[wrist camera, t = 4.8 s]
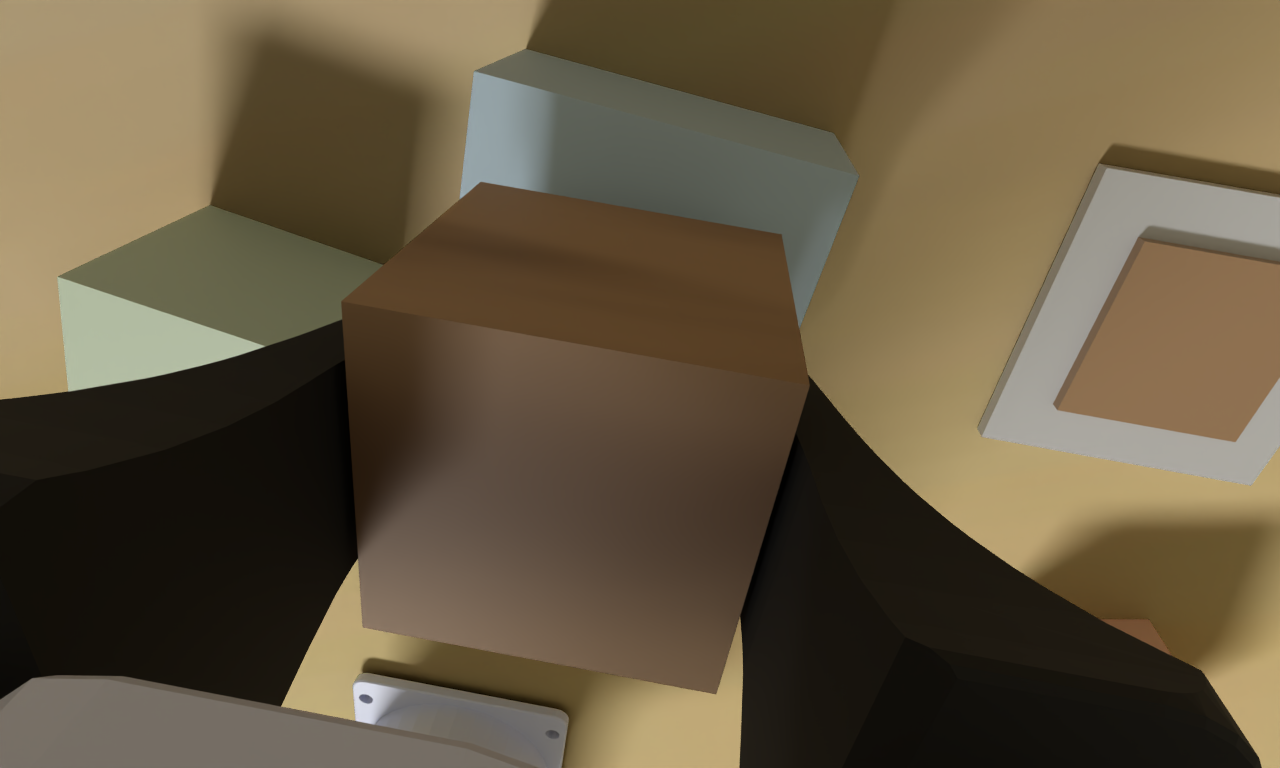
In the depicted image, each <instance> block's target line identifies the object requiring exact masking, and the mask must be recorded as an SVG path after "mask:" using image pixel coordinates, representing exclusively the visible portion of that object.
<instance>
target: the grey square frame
mask: <svg viewBox="0 0 1280 768" xmlns="http://www.w3.org/2000/svg"><path fill="white" fill-rule="evenodd" d="M977 429H978V431H979V433H980V435H981V437H985V438H991V439H996V440H1002V441H1007V442H1013V443H1018V444H1024V445H1029V446H1035V447H1040V448H1046V449H1051V450H1057V451H1062V452H1068V453H1074V454H1079V455H1085V456H1090V457H1096V458H1101V459H1107V460H1112V461H1118V462H1123V463H1129V464H1134V465H1140V466H1145V467H1151V468H1156V469H1162V470H1167V471H1173V472H1178V473H1184V474H1189V475H1195V476H1201V477H1206V478H1212V479H1217V480H1223V481H1228V482H1234V483H1239V484H1245V485H1250V486H1251V485H1252V484H1253V482H1254V481H1255V480H1256V478H1257V477H1258V475H1259V474H1260V473H1261V471H1262V470H1263V468H1264V467H1265V466H1266V464H1267V463H1268V462H1269V460H1270V459H1271V457H1272V456H1273V455H1274V453H1275V452H1276V451H1277V449H1278V448H1279V446H1280V195H1279V194H1273V193H1267V192H1261V191H1256V190H1250V189H1244V188H1238V187H1233V186H1227V185H1221V184H1215V183H1209V182H1204V181H1198V180H1192V179H1186V178H1181V177H1175V176H1169V175H1163V174H1158V173H1152V172H1146V171H1140V170H1134V169H1129V168H1123V167H1117V166H1111V165H1106V164H1100V163H1099V164H1098V166H1097V168H1096V171H1095V173H1094V175H1093V177H1092V179H1091V181H1090V184H1089V186H1088V188H1087V190H1086V192H1085V195H1084V197H1083V199H1082V201H1081V203H1080V205H1079V208H1078V210H1077V212H1076V214H1075V216H1074V219H1073V221H1072V223H1071V225H1070V227H1069V229H1068V232H1067V234H1066V236H1065V238H1064V240H1063V243H1062V245H1061V247H1060V249H1059V251H1058V253H1057V256H1056V258H1055V260H1054V262H1053V264H1052V266H1051V269H1050V271H1049V273H1048V275H1047V277H1046V280H1045V282H1044V284H1043V286H1042V288H1041V290H1040V293H1039V295H1038V297H1037V299H1036V301H1035V304H1034V306H1033V308H1032V310H1031V312H1030V314H1029V317H1028V319H1027V321H1026V323H1025V325H1024V328H1023V330H1022V332H1021V334H1020V336H1019V338H1018V341H1017V343H1016V345H1015V347H1014V349H1013V351H1012V354H1011V356H1010V358H1009V360H1008V362H1007V365H1006V367H1005V369H1004V371H1003V373H1002V375H1001V378H1000V380H999V382H998V384H997V386H996V389H995V391H994V393H993V395H992V397H991V399H990V402H989V404H988V406H987V408H986V410H985V413H984V415H983V417H982V419H981V421H980V423H979V426H978V428H977Z"/></svg>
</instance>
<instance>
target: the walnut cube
mask: <svg viewBox="0 0 1280 768" xmlns="http://www.w3.org/2000/svg"><path fill="white" fill-rule="evenodd" d="M341 308H342V323H343V338H344V353H345V368H346V383H347V398H348V413H349V428H350V443H351V458H352V473H353V488H354V503H355V518H356V533H357V548H358V563H359V578H360V593H361V608H362V623H363V628H369V629H374V630H379V631H385V632H390V633H395V634H400V635H406V636H411V637H416V638H422V639H427V640H432V641H437V642H443V643H448V644H453V645H459V646H464V647H469V648H474V649H480V650H485V651H490V652H496V653H501V654H506V655H511V656H517V657H522V658H527V659H533V660H538V661H543V662H548V663H554V664H559V665H564V666H570V667H575V668H580V669H585V670H591V671H596V672H601V673H607V674H612V675H617V676H622V677H628V678H633V679H638V680H644V681H649V682H654V683H659V684H665V685H670V686H675V687H681V688H686V689H691V690H696V691H702V692H707V693H712V694H716V693H717V690H718V687H719V683H720V680H721V677H722V674H723V670H724V667H725V664H726V660H727V657H728V654H729V650H730V647H731V644H732V641H733V637H734V634H735V631H736V627H737V624H738V621H739V617H740V614H741V611H742V608H743V604H744V601H745V598H746V594H747V591H748V588H749V584H750V581H751V578H752V575H753V571H754V568H755V565H756V561H757V558H758V555H759V551H760V548H761V545H762V542H763V538H764V535H765V532H766V528H767V525H768V522H769V518H770V515H771V512H772V509H773V505H774V502H775V499H776V495H777V492H778V489H779V485H780V482H781V479H782V476H783V472H784V469H785V466H786V462H787V459H788V456H789V452H790V449H791V446H792V443H793V439H794V436H795V433H796V429H797V426H798V423H799V419H800V416H801V413H802V410H803V406H804V403H805V400H806V396H807V393H808V390H809V386H810V384H809V378H808V373H807V368H806V362H805V357H804V352H803V346H802V341H801V336H800V330H799V325H798V320H797V314H796V309H795V303H794V298H793V293H792V287H791V282H790V277H789V271H788V266H787V261H786V255H785V250H784V245H783V239H782V234H777V233H771V232H765V231H760V230H754V229H748V228H743V227H737V226H731V225H725V224H720V223H714V222H708V221H703V220H697V219H691V218H685V217H680V216H674V215H668V214H663V213H657V212H651V211H646V210H640V209H634V208H628V207H623V206H617V205H611V204H606V203H600V202H594V201H588V200H583V199H577V198H571V197H566V196H560V195H554V194H548V193H543V192H537V191H531V190H526V189H520V188H514V187H508V186H503V185H497V184H491V183H486V182H480V183H479V184H477V185H476V186H475V187H474V188H473V189H472V190H470V191H469V192H468V193H467V194H466V195H465V196H463V197H462V198H461V199H460V200H459V201H458V202H456V203H455V204H454V205H453V206H452V207H451V208H449V209H448V210H447V211H446V212H445V213H444V214H442V215H441V216H440V217H439V218H438V219H437V220H435V221H434V222H433V223H432V224H431V225H430V226H428V227H427V228H426V229H425V230H424V231H423V232H421V233H420V234H419V235H418V236H417V237H416V238H414V239H413V240H412V241H411V242H410V243H409V244H407V245H406V246H405V247H404V248H403V249H402V250H400V251H399V252H398V253H397V254H396V255H395V256H393V257H392V258H391V259H390V260H389V261H388V262H386V263H385V264H384V265H383V266H382V267H381V268H379V269H378V270H377V271H376V272H375V273H374V274H372V275H371V276H370V277H369V278H368V279H367V280H365V281H364V282H363V283H362V284H361V285H360V286H358V287H357V288H356V289H355V290H354V291H353V292H351V293H350V294H349V295H348V296H347V297H346V298H344V299H343V300H342V301H341Z"/></svg>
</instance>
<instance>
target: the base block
mask: <svg viewBox="0 0 1280 768" xmlns="http://www.w3.org/2000/svg"><path fill="white" fill-rule="evenodd" d="M858 178H859V174H858V173H857V171H856V169H855V168H854V166H853V164H852V163H851V161H850V159H849V158H848V156H847V154H846V153H845V151H844V149H843V148H842V146H841V144H840V143H839V141H838V139H837V138H836V136H835V134H834V133H832V132H828V131H825V130H821V129H817V128H814V127H810V126H806V125H803V124H799V123H795V122H792V121H788V120H784V119H781V118H777V117H774V116H770V115H766V114H763V113H759V112H755V111H752V110H748V109H744V108H741V107H737V106H733V105H730V104H726V103H722V102H719V101H715V100H711V99H708V98H704V97H700V96H697V95H693V94H689V93H686V92H682V91H678V90H675V89H671V88H667V87H664V86H660V85H656V84H653V83H649V82H645V81H642V80H638V79H634V78H631V77H627V76H623V75H620V74H616V73H612V72H609V71H605V70H601V69H598V68H594V67H591V66H587V65H583V64H580V63H576V62H572V61H569V60H565V59H561V58H558V57H554V56H550V55H547V54H543V53H539V52H536V51H532V50H528V49H524V50H522V51H520V52H517V53H515V54H513V55H510V56H508V57H506V58H503V59H501V60H499V61H496V62H494V63H492V64H489V65H487V66H485V67H482V68H480V69H478V70H475V71H474V76H473V85H472V93H471V102H470V111H469V120H468V129H467V138H466V147H465V156H464V165H463V174H462V183H461V191H460V199H461V198H462V197H463V196H465V195H466V194H467V193H468V192H469V191H470V190H472V189H473V188H474V187H475V186H476V185H477V184H479V183H480V182H486V183H491V184H497V185H503V186H508V187H514V188H520V189H526V190H531V191H537V192H543V193H548V194H554V195H560V196H566V197H571V198H577V199H583V200H588V201H594V202H600V203H606V204H611V205H617V206H623V207H628V208H634V209H640V210H646V211H651V212H657V213H663V214H668V215H674V216H680V217H685V218H691V219H697V220H703V221H708V222H714V223H720V224H725V225H731V226H737V227H743V228H748V229H754V230H760V231H765V232H771V233H777V234H782V239H783V245H784V250H785V255H786V261H787V266H788V271H789V277H790V282H791V287H792V293H793V298H794V303H795V309H796V314H797V320H798V325H799V329H800V326H801V323H802V321H803V318H804V316H805V313H806V311H807V308H808V306H809V303H810V300H811V298H812V295H813V293H814V290H815V288H816V285H817V283H818V280H819V278H820V275H821V272H822V270H823V267H824V265H825V262H826V260H827V257H828V255H829V252H830V249H831V247H832V244H833V242H834V239H835V237H836V234H837V232H838V229H839V227H840V224H841V221H842V219H843V216H844V214H845V211H846V209H847V206H848V204H849V201H850V198H851V196H852V193H853V191H854V188H855V186H856V183H857V181H858Z"/></svg>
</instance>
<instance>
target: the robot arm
mask: <svg viewBox="0 0 1280 768" xmlns="http://www.w3.org/2000/svg"><path fill="white" fill-rule="evenodd" d="M808 378H809V384H810V386H809V390H808V393H807V396H806V400H805V403H804V406H803V410H802V413H801V416H800V419H799V423H798V426H797V429H796V433H795V436H794V439H793V443H792V446H791V449H790V452H789V456H788V459H787V462H786V466H785V469H784V472H783V476H782V479H781V482H780V485H779V489H778V492H777V495H776V499H775V502H774V505H773V509H772V512H771V515H770V518H769V522H768V525H767V528H766V532H765V535H764V538H763V542H762V545H761V548H760V551H759V555H758V558H757V561H756V565H755V568H754V571H753V575H752V578H751V581H750V584H749V588H748V591H747V594H746V598H745V601H744V604H743V608H742V611H741V614H740V618H741V631H742V647H743V693H742V723H741V747H740V768H1262V767H1261V764H1260V760H1259V757H1258V756H1257V754H1256V753H1255V751H1254V750H1253V748H1252V746H1251V745H1250V743H1249V742H1248V740H1247V739H1246V737H1245V736H1244V734H1243V733H1242V731H1241V730H1240V728H1239V727H1238V725H1237V724H1236V722H1235V721H1234V719H1233V718H1232V716H1231V714H1230V713H1229V711H1228V710H1227V708H1226V707H1225V705H1224V704H1223V702H1222V701H1221V699H1220V698H1219V696H1218V695H1217V693H1216V692H1215V690H1214V689H1213V687H1212V686H1211V684H1210V683H1209V681H1208V679H1207V678H1206V676H1205V675H1204V673H1203V672H1202V671H1201V670H1199V669H1197V668H1195V667H1193V666H1191V665H1189V664H1187V663H1185V662H1183V661H1181V660H1179V659H1177V658H1175V657H1173V656H1171V655H1169V654H1167V653H1165V652H1163V651H1161V650H1159V649H1157V648H1155V647H1153V646H1151V645H1149V644H1147V643H1145V642H1143V641H1141V640H1139V639H1137V638H1135V637H1133V636H1131V635H1129V634H1127V633H1125V632H1123V631H1121V630H1119V629H1117V628H1115V627H1113V626H1111V625H1109V624H1107V623H1105V622H1104V621H1102V620H1100V619H1098V618H1096V617H1095V616H1093V615H1091V614H1089V613H1088V612H1086V611H1084V610H1082V609H1081V608H1079V607H1077V606H1076V605H1074V604H1072V603H1070V602H1069V601H1067V600H1065V599H1064V598H1062V597H1060V596H1058V595H1057V594H1055V593H1053V592H1052V591H1050V590H1048V589H1046V588H1045V587H1043V586H1042V585H1040V584H1038V583H1037V582H1035V581H1034V580H1032V579H1031V578H1029V577H1027V576H1026V575H1024V574H1023V573H1021V572H1019V571H1018V570H1016V569H1015V568H1013V567H1012V566H1010V565H1009V564H1007V563H1006V562H1005V561H1003V560H1002V559H1000V558H999V557H997V556H996V555H995V554H993V553H992V552H990V551H989V550H987V549H986V548H985V547H983V546H982V545H980V544H979V543H977V542H976V541H975V540H973V539H972V538H970V537H969V536H968V535H967V534H965V533H964V532H963V531H961V530H960V529H959V528H957V527H956V526H955V525H953V524H952V523H951V522H950V521H948V520H947V519H946V518H945V517H944V516H942V515H941V514H940V513H939V512H938V511H936V510H935V509H934V508H933V507H932V506H930V505H929V504H928V503H927V502H926V501H924V500H923V499H922V498H921V497H920V496H919V495H917V494H916V493H915V492H914V491H913V490H912V489H911V488H910V487H909V486H908V485H906V484H905V483H904V482H903V481H902V480H901V479H900V478H899V477H898V476H897V475H896V474H895V473H894V472H893V471H892V470H891V469H890V468H889V467H888V466H887V465H886V464H885V463H884V462H883V461H882V460H881V459H880V458H879V457H878V456H877V455H876V454H875V453H874V451H873V450H872V449H871V448H870V447H869V446H868V445H867V444H866V443H865V442H864V441H863V440H862V438H861V437H860V436H859V435H858V434H857V433H856V432H855V430H854V429H853V428H852V427H851V426H850V425H849V424H848V422H847V421H846V420H845V419H844V418H843V416H842V415H841V414H840V413H839V412H838V410H837V409H836V408H835V407H834V406H833V404H832V403H831V402H830V401H829V399H828V398H827V397H826V396H825V395H824V393H823V392H822V391H821V390H820V388H819V387H818V386H817V385H816V383H815V382H814V381H813V380H812V379H811V378H810V376H809V375H808ZM357 559H358V548H357V533H356V518H355V503H354V488H353V473H352V458H351V443H350V428H349V413H348V398H347V383H346V368H345V353H344V338H343V323H342V320H339V321H336V322H334V323H331V324H328V325H326V326H323V327H320V328H318V329H315V330H312V331H310V332H307V333H304V334H301V335H299V336H296V337H293V338H290V339H287V340H283V341H280V342H277V343H274V344H271V345H268V346H265V347H262V348H259V349H256V350H253V351H250V352H247V353H244V354H241V355H238V356H235V357H231V358H228V359H224V360H221V361H217V362H213V363H209V364H206V365H202V366H198V367H194V368H189V369H185V370H181V371H177V372H173V373H168V374H164V375H159V376H155V377H150V378H145V379H139V380H133V381H127V382H121V383H116V384H110V385H104V386H98V387H93V388H87V389H81V390H75V391H69V392H62V393H54V394H46V395H38V396H29V397H21V398H12V399H2V400H0V768H562V762H563V755H564V749H565V742H566V736H567V729H568V723H569V718H568V716H567V714H566V713H565V712H563V711H562V710H559V709H555V708H550V707H544V706H539V705H534V704H529V703H524V702H518V701H513V700H508V699H503V698H497V697H492V696H487V695H482V694H476V693H471V692H466V691H461V690H455V689H450V688H445V687H440V686H434V685H429V684H424V683H419V682H413V681H408V680H403V679H398V678H392V677H387V676H382V675H377V674H371V673H362V674H359V675H358V676H357V678H356V679H355V681H354V683H353V696H354V708H355V720H356V721H353V720H348V719H343V718H338V717H332V716H327V715H322V714H317V713H312V712H306V711H301V710H296V709H291V708H286V707H281V705H282V703H283V701H284V699H285V697H286V695H287V693H288V690H289V688H290V686H291V684H292V682H293V680H294V678H295V676H296V674H297V671H298V669H299V667H300V665H301V663H302V661H303V659H304V657H305V655H306V652H307V650H308V648H309V646H310V644H311V642H312V640H313V638H314V636H315V634H316V632H317V630H318V628H319V627H320V625H321V623H322V621H323V619H324V617H325V615H326V613H327V611H328V609H329V607H330V605H331V603H332V601H333V599H334V597H335V595H336V593H337V591H338V590H339V588H340V586H341V585H342V583H343V581H344V580H345V578H346V576H347V574H348V573H349V571H350V569H351V568H352V566H353V565H354V563H355V562H356V560H357Z"/></svg>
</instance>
